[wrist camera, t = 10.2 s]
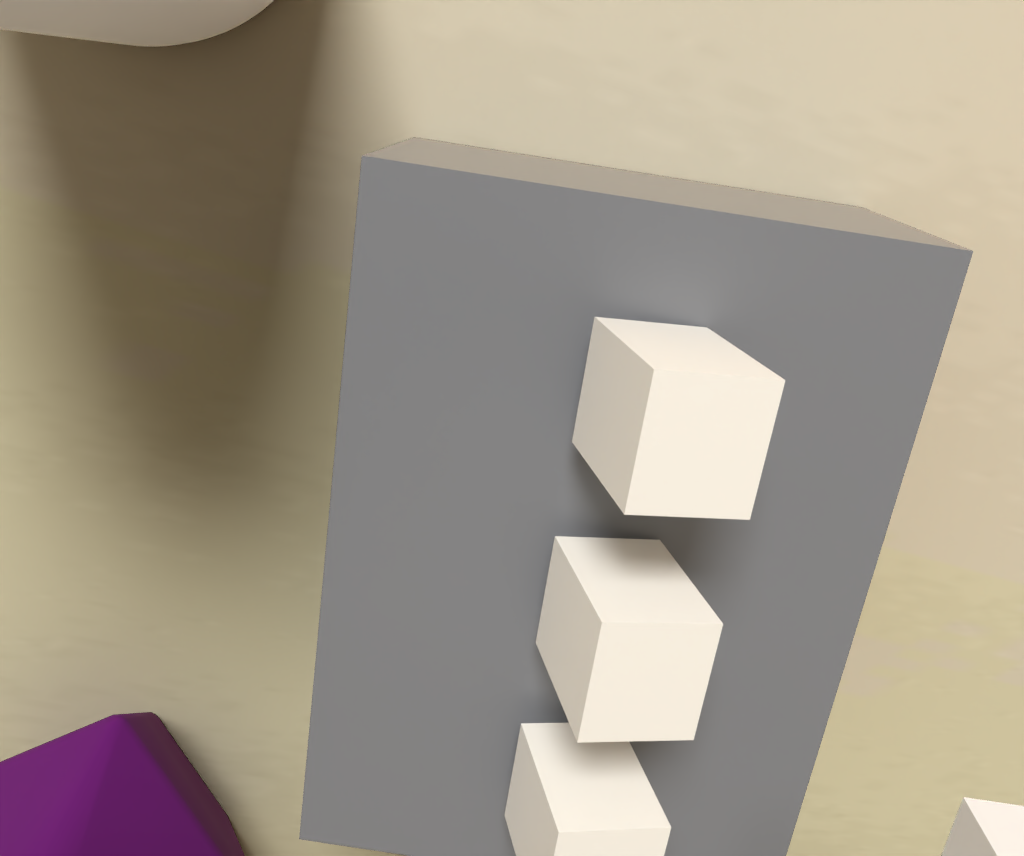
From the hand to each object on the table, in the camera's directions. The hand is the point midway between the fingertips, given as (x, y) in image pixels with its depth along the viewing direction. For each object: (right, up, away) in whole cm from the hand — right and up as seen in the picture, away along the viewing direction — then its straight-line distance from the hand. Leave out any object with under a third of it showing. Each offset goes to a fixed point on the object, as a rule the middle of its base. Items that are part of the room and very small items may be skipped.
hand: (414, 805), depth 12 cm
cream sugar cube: (+3, +5, +5) cm, 8 cm away
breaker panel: (+3, +4, +12) cm, 13 cm away
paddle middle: (+3, +2, +6) cm, 7 cm away
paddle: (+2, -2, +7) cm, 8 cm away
